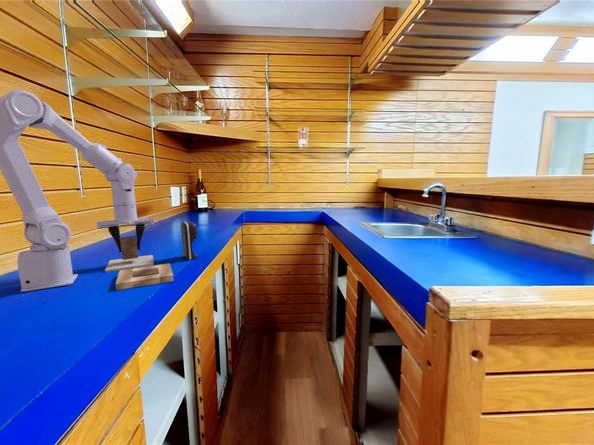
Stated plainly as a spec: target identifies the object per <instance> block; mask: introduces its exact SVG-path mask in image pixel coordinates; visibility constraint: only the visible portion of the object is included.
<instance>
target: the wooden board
mask: <svg viewBox="0 0 594 445" xmlns="http://www.w3.org/2000/svg"><path fill="white" fill-rule="evenodd" d="M118 271H119V272H118V274H117V278H116V281H115V291H122V290H127V289H134V288H138V287H139V288H140V287H147V286H150V285H156V284H157V285H158V284H163V283H169V282H174V274H173V273H174V272H173V270H172V267H171V263H163V264H156V265H154V266H147V267H140V268H133V269H125V270H118Z"/></svg>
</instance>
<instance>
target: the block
mask: <svg viewBox="0 0 594 445" xmlns="http://www.w3.org/2000/svg"><path fill="white" fill-rule="evenodd" d="M120 242H121V250H122V252H121V256H122V258H121V259H123V260H127V259H134V258H138V257H139V253H138V252H139V250H137V235H132V236H123V237H121V236H120Z"/></svg>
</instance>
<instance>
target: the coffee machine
mask: <svg viewBox="0 0 594 445" xmlns="http://www.w3.org/2000/svg"><path fill="white" fill-rule="evenodd" d="M180 230H181V231H180V232H181V234H180V235H181V242H182V243H181V244H182V254H183V256H184V258H186V259H187V260H194V259H197V257H198V254H196V253H194V251H193V243H194V241H195V240H198V238H199V236H198V229H197V225H196V224H195V223H194V222H192V221H182V222H181V223H180Z"/></svg>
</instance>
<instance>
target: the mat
mask: <svg viewBox="0 0 594 445" xmlns="http://www.w3.org/2000/svg"><path fill="white" fill-rule="evenodd" d="M147 266H154V256H153V254H150V255H143V256H142V255H141V256H138V258H134V259H127V260H123V259H122V258H117V259H116V258H115V259H110V260H109V261H108V263H107V266H106V267H105V269H104V272H105V273H111V272H118V271H120V270H126V269H132V268H139V267H147Z"/></svg>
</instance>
